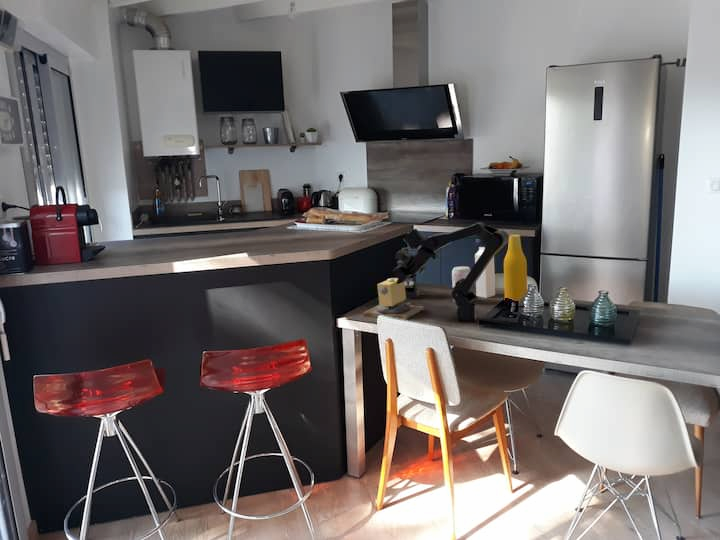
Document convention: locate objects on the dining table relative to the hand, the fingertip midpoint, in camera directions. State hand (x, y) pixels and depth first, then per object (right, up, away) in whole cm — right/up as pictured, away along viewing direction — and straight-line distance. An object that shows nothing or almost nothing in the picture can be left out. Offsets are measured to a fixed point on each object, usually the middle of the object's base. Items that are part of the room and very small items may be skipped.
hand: (397, 282), depth 235 cm
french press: (+7, -7, +30) cm, 31 cm away
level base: (-1, -13, +4) cm, 13 cm away
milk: (+41, -6, +20) cm, 46 cm away
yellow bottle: (+50, -9, +3) cm, 51 cm away
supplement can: (+29, -9, +14) cm, 34 cm away
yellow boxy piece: (-2, -9, +3) cm, 9 cm away
